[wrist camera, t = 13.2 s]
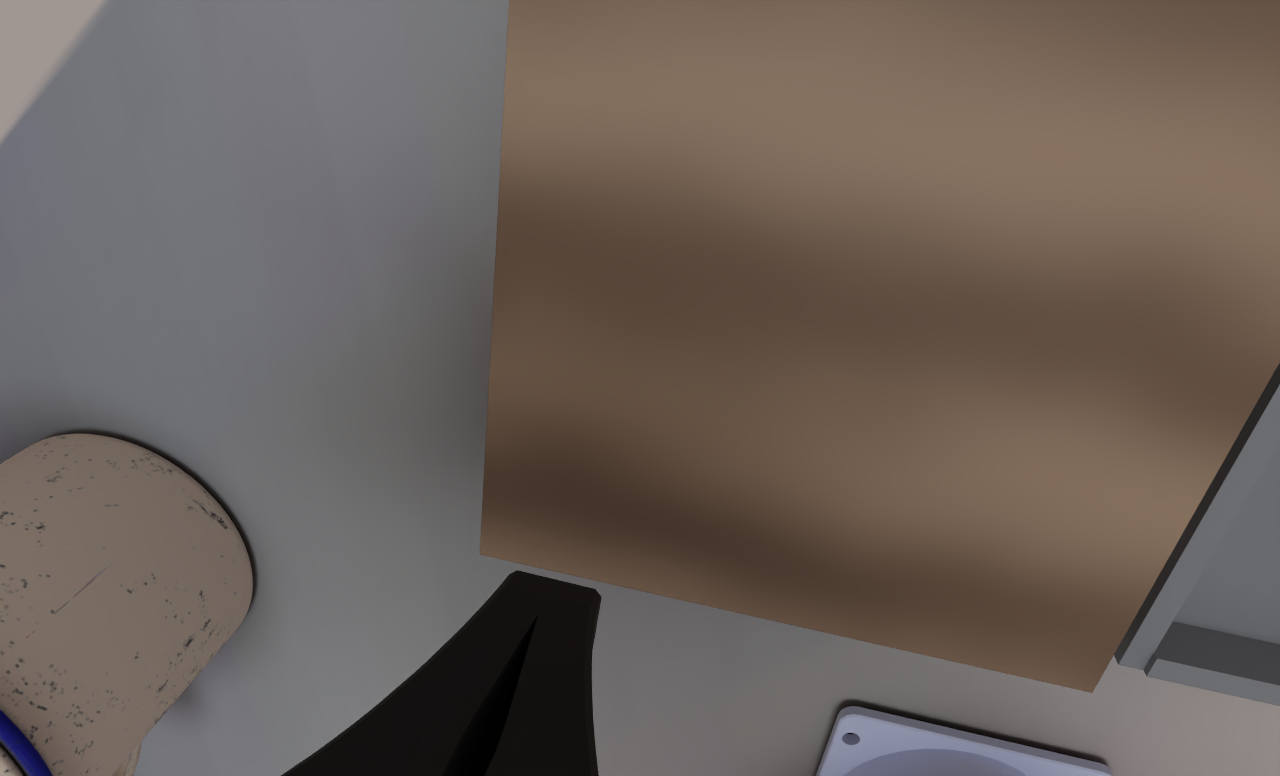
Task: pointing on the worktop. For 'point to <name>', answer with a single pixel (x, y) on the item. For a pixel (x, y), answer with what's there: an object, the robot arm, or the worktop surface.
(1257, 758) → the worktop surface
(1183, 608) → the box
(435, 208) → the worktop surface
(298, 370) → the worktop surface
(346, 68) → the worktop surface
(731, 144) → the walnut plate
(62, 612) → the cream lidded canister
